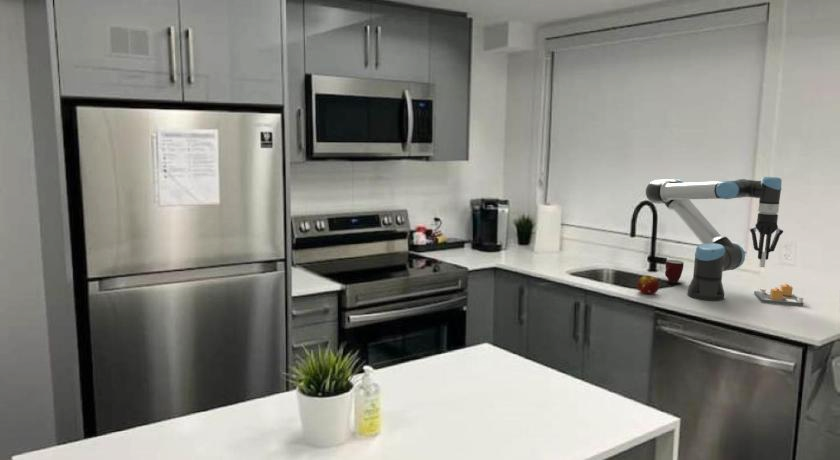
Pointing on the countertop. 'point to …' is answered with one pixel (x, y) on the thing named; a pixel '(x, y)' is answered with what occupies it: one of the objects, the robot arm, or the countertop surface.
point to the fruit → (648, 284)
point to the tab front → (776, 294)
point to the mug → (673, 270)
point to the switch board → (786, 300)
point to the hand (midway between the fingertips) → (761, 266)
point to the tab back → (786, 289)
